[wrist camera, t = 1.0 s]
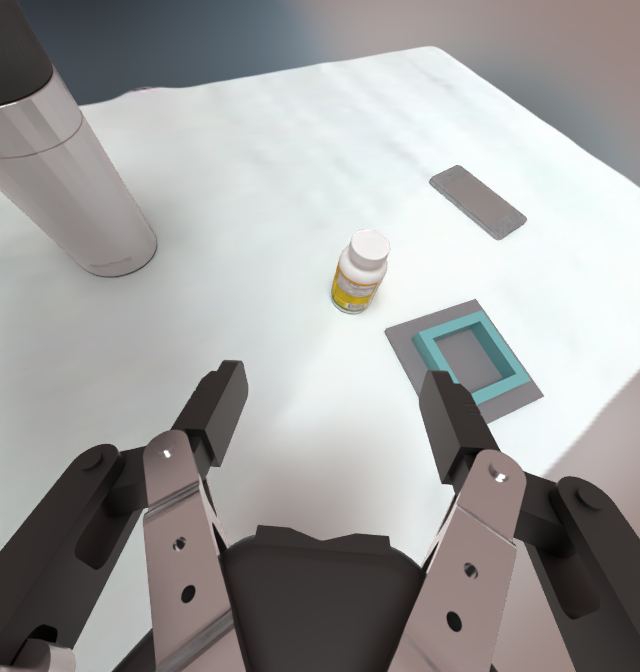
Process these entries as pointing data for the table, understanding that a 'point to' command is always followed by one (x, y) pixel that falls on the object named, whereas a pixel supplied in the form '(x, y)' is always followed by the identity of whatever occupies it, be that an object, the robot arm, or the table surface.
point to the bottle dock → (465, 357)
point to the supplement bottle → (360, 271)
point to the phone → (478, 202)
